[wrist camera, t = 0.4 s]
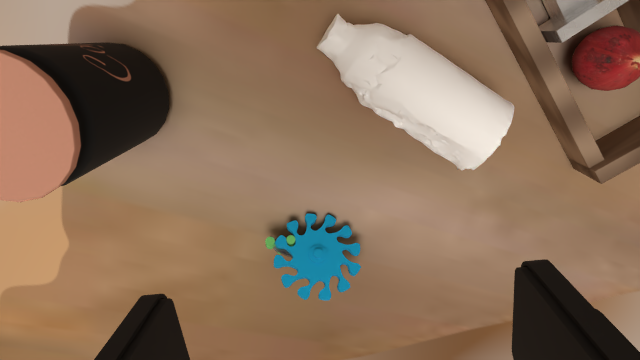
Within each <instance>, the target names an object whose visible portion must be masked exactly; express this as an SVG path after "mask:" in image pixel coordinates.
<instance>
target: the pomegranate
mask: <svg viewBox="0 0 640 360" xmlns="http://www.w3.org/2000/svg"><path fill="white" fill-rule="evenodd" d="M572 69H573V73H574V74H575V76H576V77H577V79H578V80H579V81H580V82H581V83H583V84H584V85H586V86H588V87H589V88H591V89H597V90H605V91H609V90H615V89H620V88H624V87H626V86H627V85H629V84H630V83H632V82H633V81H635V80H636V79H638V78H639V76H640V33H639V32H638V31H636V30H635V29H633V28H628V27H622V26H611V27H605V28H601V29H598V30H596V31H594V32H592V33H591V34H589V35H587V36H586V37H585V38H584V39H583V40H582V41H581V43H580V44H579V45H578V46H577V47H576V49H575V51H574V54H573V57H572Z"/></svg>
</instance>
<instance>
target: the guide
mask: <svg viewBox="0 0 640 360" xmlns="http://www.w3.org/2000/svg"><path fill="white" fill-rule="evenodd" d="M486 2H487V4H488V6H489V8H490V10H491V12H492V14H493V16H494V17H495V19H496V21H497V23H498V25H499V27H500V29H501V31H502V33H503V35H504V37H505V38H506V40H507V42H508V44H509V46H510V48H511V50H512V52H513V54H514V56H515V58H516V59H517V61H518V63H519V65H520V67H521V69H522V71H523V73H524V75H525V77H526V79H527V80H528V82H529V84H530V86H531V88H532V90H533V92H534V94H535V96H536V98H537V99H538V101H539V103H540V105H541V107H542V109H543V111H544V113H545V115H546V117H547V119H548V120H549V122H550V124H551V126H552V128H553V130H554V132H555V134H556V136H557V138H558V140H559V141H560V143H561V145H562V147H563V149H564V151H565V153H566V155H567V157H568V159H569V161H570V162H571V164H572V166H573V168H574V169H575V170H577V171H579V172H581V173H583V174H584V175H586V176H588V177H590V178H592V179H593V180H595V181H597V182H599V183H601V184H602V183H604V182H606V181H608V180H609V179H611V178H613V177H615V176H617V175H619V174H620V173H622V172H624V171H626V170H628V169H630V168H631V167H633V166H635V165H637V164H639V163H640V116H639V117H637V118H636V119H634V120H632V121H630V122H629V123H627V124H625V125H623V126H622V127H620V128H618V129H616V130H615V131H613V132H611V133H609V134H608V135H606V136H604V137H602V138H601V139H599V140H597V141H595V140H594V138H593V136H592V134H591V132H590V130H589V128H588V126H587V124H586V122H585V120H584V118H583V116H582V114H581V112H580V110H579V108H578V106H577V104H576V102H575V100H574V98H573V96H572V94H571V92H570V89H569V87H568V85H567V83H566V81H565V79H564V77H563V75H562V73H561V71H560V69H559V67H558V65H557V63H556V61H555V59H554V57H553V55H552V53H551V51H550V49H549V47H548V45H547V43H546V41H545V39H544V37H543V35H542V33H541V31H540V29H539V27H538V25H537V23H536V21H535V19H534V17H533V15H532V13H531V11H530V9H529V7H528V5H527V3H526V1H525V0H486ZM617 10H618V12H619V14H620V17H621V19H622V21H623V24H624V26H625V27H628V28H633V29H635V30H636V31H638V32H639V33H640V0H628V1H627V2H625V3H624V4H622V5H621V6H619V7H617Z"/></svg>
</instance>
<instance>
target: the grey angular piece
mask: <svg viewBox="0 0 640 360" xmlns="http://www.w3.org/2000/svg"><path fill="white" fill-rule="evenodd" d="M627 1H628V0H542V2H543V4H544V6H545V8H546V10H547V12H548V14H549V16H550V18H551V19H549V20H548V21H546V22H544V23H543V24H541V25H540V26H538V27H539V29H540V31H541V33H542V35H543V37H544V39H545V41H546V42H559V43H562V42H564V41H566V40H567V39H569V38H570V37H572V36H573V35H575V34H577V33H578V32H580V31H581V30H583V29H584V28H586V27H588V26H589V25H591V24H592V23H594V22H595V21H597V20H599V19H600V18H602V17H603V16H605V15H606V14H608V13H610V12H611V11H613V10H614V9H616V8H617V7H619V6H621V5H622V4H624V3H625V2H627Z"/></svg>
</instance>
